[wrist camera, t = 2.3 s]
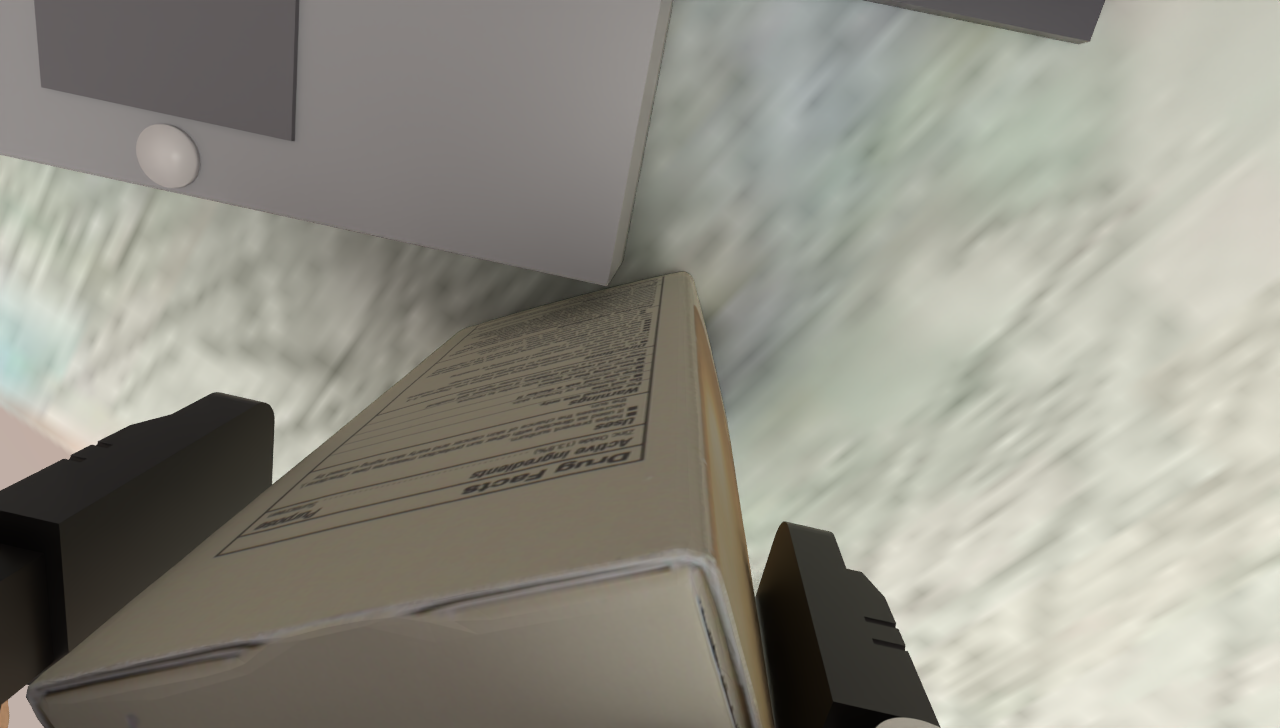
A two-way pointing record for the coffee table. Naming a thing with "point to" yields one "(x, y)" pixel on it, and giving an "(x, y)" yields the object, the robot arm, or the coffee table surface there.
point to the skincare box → (471, 553)
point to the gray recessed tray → (356, 112)
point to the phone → (1018, 15)
